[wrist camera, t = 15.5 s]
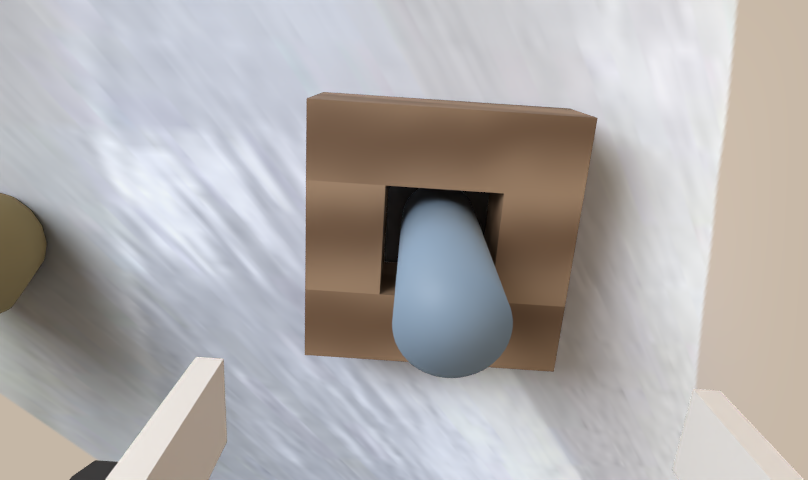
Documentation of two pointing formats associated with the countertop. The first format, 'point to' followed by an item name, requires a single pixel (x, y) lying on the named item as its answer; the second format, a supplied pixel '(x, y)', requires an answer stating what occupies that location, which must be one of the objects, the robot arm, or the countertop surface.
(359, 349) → the socket block
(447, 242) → the peg
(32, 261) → the squeeze bottle
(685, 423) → the robot arm
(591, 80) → the countertop surface
